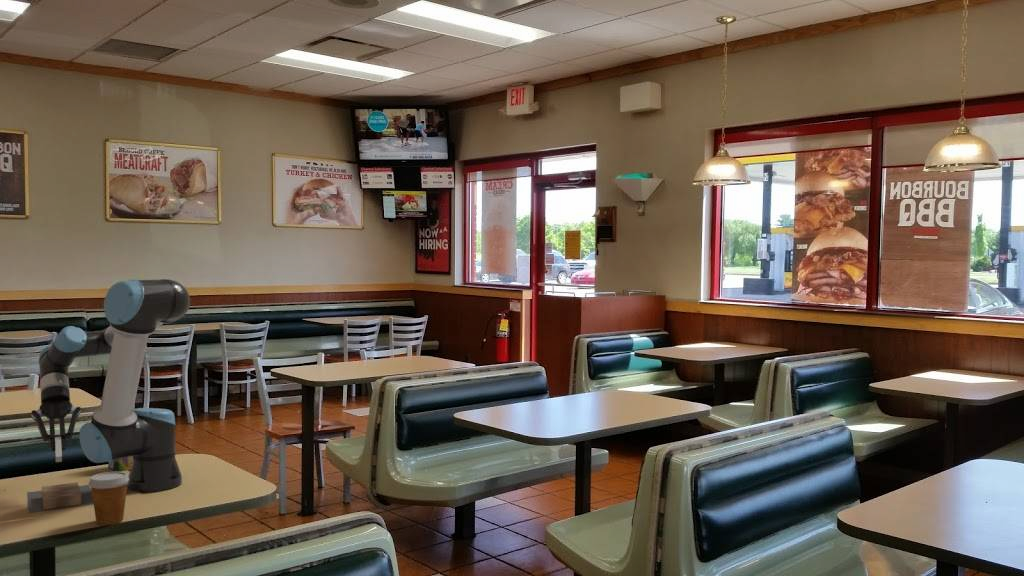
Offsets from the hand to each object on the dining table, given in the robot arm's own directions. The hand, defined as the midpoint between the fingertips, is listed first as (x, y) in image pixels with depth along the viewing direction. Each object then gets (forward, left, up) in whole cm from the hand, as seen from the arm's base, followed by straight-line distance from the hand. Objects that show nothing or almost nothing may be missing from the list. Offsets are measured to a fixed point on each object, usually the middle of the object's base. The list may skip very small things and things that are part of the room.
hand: (58, 459), depth 234 cm
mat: (0, -1, -12) cm, 12 cm away
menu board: (0, -4, -10) cm, 11 cm away
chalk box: (-21, -29, -12) cm, 38 cm away
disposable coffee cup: (-10, +27, -12) cm, 31 cm away
